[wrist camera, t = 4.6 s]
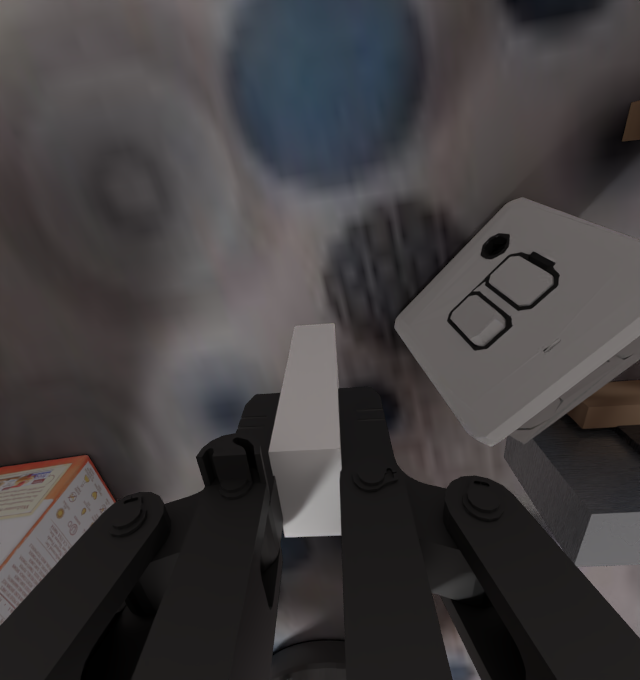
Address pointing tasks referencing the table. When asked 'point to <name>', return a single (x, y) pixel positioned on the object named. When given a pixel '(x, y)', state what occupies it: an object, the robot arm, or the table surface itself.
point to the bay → (620, 396)
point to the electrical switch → (527, 320)
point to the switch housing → (584, 488)
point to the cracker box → (43, 520)
